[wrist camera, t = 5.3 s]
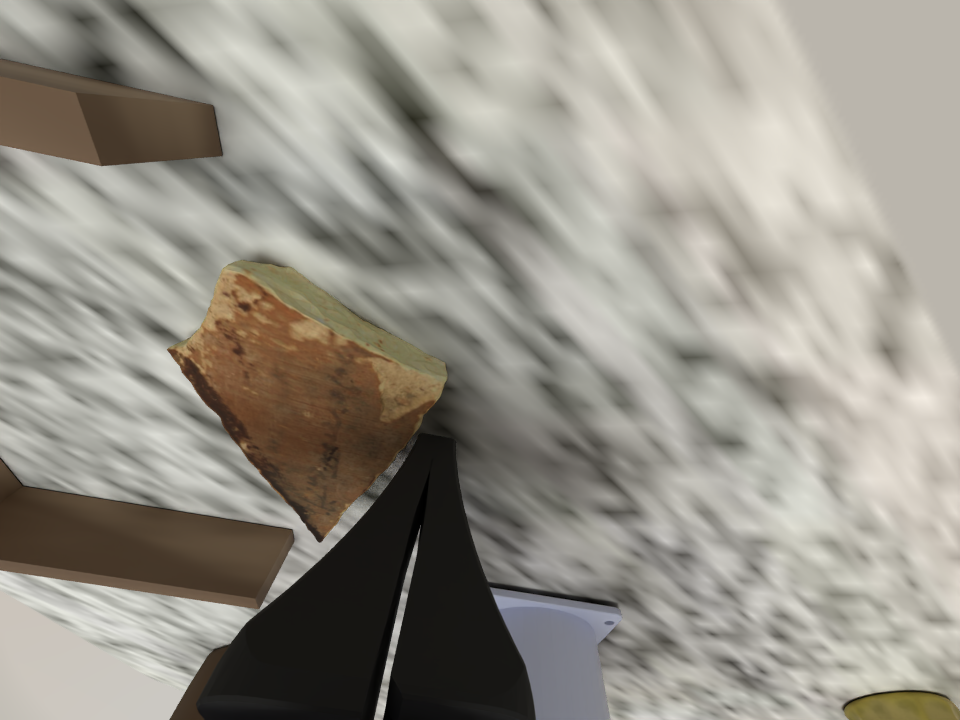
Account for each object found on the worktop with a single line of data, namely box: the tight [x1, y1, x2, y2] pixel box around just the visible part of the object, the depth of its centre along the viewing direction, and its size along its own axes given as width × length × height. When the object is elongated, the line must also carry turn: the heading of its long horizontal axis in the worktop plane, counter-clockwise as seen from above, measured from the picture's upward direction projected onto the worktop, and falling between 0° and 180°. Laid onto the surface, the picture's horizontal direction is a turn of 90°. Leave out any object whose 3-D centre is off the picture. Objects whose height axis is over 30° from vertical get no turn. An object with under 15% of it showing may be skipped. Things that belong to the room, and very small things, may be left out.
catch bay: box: [0, 59, 294, 609], centre depth 11 cm, size 18×14×3 cm
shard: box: [167, 260, 447, 542], centre depth 13 cm, size 11×8×2 cm
